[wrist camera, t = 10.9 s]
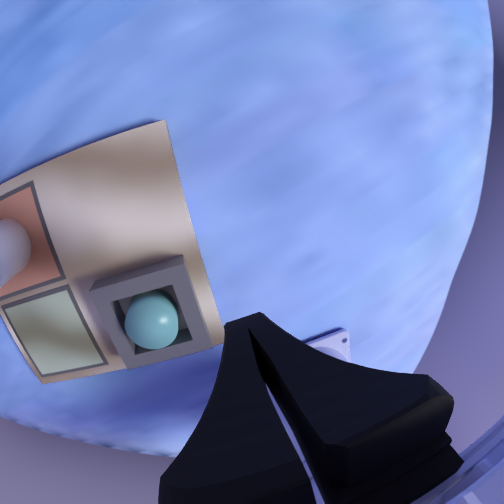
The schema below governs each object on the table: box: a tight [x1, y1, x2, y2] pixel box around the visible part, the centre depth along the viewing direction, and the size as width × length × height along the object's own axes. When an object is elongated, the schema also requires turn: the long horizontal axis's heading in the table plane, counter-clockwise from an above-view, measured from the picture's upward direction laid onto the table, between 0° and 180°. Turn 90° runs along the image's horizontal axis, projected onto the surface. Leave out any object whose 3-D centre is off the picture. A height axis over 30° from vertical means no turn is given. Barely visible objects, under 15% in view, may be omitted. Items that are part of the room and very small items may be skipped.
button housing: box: [89, 255, 213, 369], centre depth 18 cm, size 6×6×2 cm
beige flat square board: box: [0, 120, 225, 384], centre depth 18 cm, size 15×16×1 cm
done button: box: [125, 289, 178, 349], centre depth 18 cm, size 3×3×2 cm
